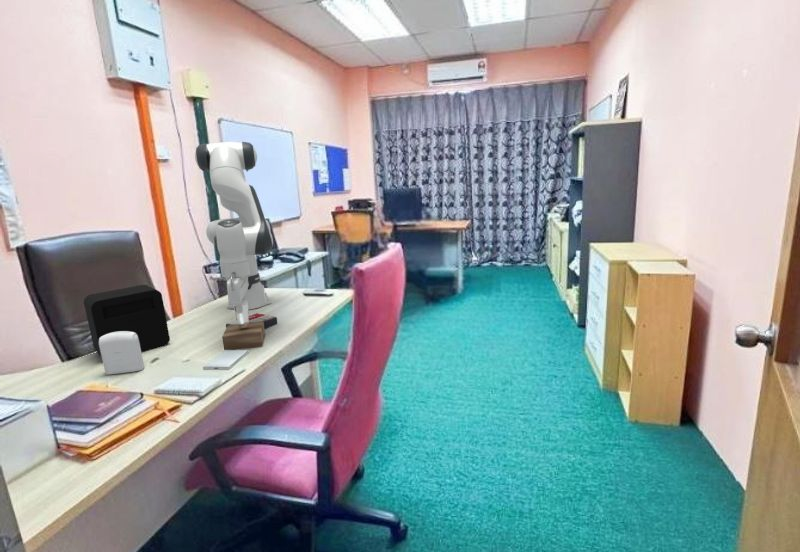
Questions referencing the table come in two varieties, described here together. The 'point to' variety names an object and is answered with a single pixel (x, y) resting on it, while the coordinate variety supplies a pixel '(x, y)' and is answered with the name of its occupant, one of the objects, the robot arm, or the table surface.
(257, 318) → the book
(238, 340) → the walnut base
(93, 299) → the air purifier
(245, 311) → the milkshake
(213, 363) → the hard drive
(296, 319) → the table surface
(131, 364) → the photo printer
